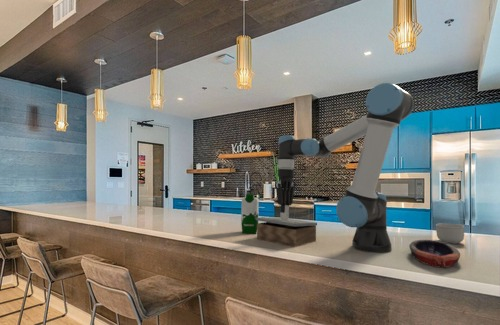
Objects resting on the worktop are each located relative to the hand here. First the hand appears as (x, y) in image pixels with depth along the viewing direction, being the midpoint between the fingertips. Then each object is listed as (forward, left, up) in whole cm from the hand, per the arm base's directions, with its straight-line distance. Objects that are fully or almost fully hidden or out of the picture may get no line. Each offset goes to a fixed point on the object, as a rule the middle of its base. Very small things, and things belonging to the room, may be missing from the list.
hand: (284, 219), depth 139 cm
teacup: (-53, -53, -10) cm, 76 cm away
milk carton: (+24, 0, -10) cm, 25 cm away
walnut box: (0, 0, -9) cm, 9 cm away
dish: (-57, -16, -10) cm, 60 cm away
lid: (0, 0, -2) cm, 2 cm away
